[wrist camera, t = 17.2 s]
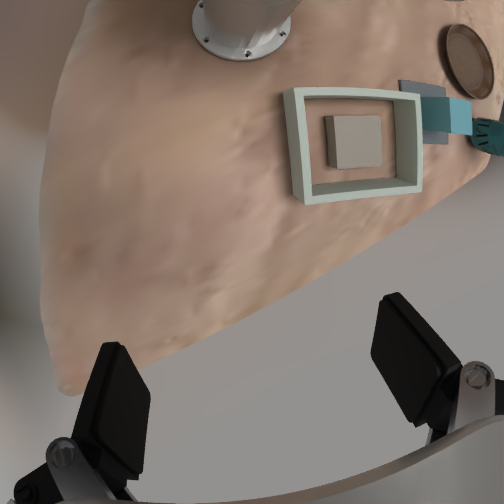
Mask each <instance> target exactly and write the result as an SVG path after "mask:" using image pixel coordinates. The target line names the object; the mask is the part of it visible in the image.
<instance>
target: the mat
mask: <svg viewBox="0 0 504 504" xmlns="http://www.w3.org/2000/svg"><path fill="white" fill-rule="evenodd" d="M399 88H400V92H409V93H416V94H420V97H446V89H445V87H440V86H435V85H430V84H425V83H419V82H413V81H407V80H399ZM422 136H423V143H429V144H448V133H447V132H441V131H434V130H427V129H422Z"/></svg>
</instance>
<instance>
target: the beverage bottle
mask: <svg viewBox="0 0 504 504" xmlns="http://www.w3.org/2000/svg"><path fill="white" fill-rule="evenodd" d="M471 140H472V143H473V145H474V146H475V147H476V148H477V149H478V150H480V151H483V152H487V153H489V154H495V155H497V156H502V157H504V122H501V121H496V120H494V119H493V120H492V119H491V120H490V119H484V118H483V117H481V118H477V119H475V120H474V121H473V122H472V135H471Z"/></svg>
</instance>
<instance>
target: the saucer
mask: <svg viewBox="0 0 504 504" xmlns="http://www.w3.org/2000/svg"><path fill="white" fill-rule="evenodd" d="M445 50H446V57H447V61H448V64H449V67H450V69H451V71H452V73H453V75H454V77H455V79H456V80H457V82H458V83H459V84H460V86H461V87H462V88H463V89H464V90H465V91H466V92H467V93H468V94H469V95H470V96H472V97H474V98H476V99H479V100H482V99H486V98H487V97H488V96H489V95H490V94H491V92H492V90H493V86H494V68H493V63H492V60H491V57H490V54H489V52H488V49H487V47H486V45H485V44H484V42H483V41H482V39H481V38H480V37H479V35H478V34H477V33H476V32H475V31H474V30H473V29H471V28H470V27H468V26H467V25H464V24H454V25H453V26H452V27H451V28H450V29H449V31H448V33H447V37H446V42H445Z"/></svg>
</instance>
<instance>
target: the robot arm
mask: <svg viewBox="0 0 504 504" xmlns="http://www.w3.org/2000/svg"><path fill="white" fill-rule="evenodd" d="M301 1H302V0H199V1H198V2H197V4H196V6H195V8H194V10H193V14H192V28H193V31H194V34H195V37H196V38H197V40H198V41H199V43H200V44H201V45H202V46H203V47H204V48H205V49H206V50H207V51H209V52H210V53H212V54H213V55H216V56H218V57H220V58H223V59H227V60H231V61H240V62H241V61H253V60H257V59H261V58H263V57H266V56H268V55H270V54H272V53H273V52H275V51H276V50H277V49H278V48H279V47H281V45H282V44H283V43H284V42H285V41H286V39H287V37H288V35H289V33H290V29H291V15H290V14H291V13H292V12H293V11H294V9H295V8H296V7H297V5H298V4H299V3H300V2H301ZM445 1H464V0H445ZM202 6H203V8H200V7H202ZM279 34H282V35H283V37H282V36H280V35H279ZM205 40H208V42H207V43H205V42H204V41H205ZM245 54H248V55H249V57H246V56H245ZM371 358H372V360H373V361H374V363H375V365H376V367H377V368H378V370H379V372H380V373H381V375H382V377H383V378H384V380H385V382H386V384H387V385H388V387H389V389H390V390H391V392H392V394H393V396H394V397H395V399H396V401H397V403H398V404H399V406H400V408H401V409H402V411H403V413H404V415H405V417H406V418H407V420H408V421H409V422H410V423H412V422H413V424H414V426H415V427H418V426H421V425H423V424H425V423H427V424H428V426H429V427H430V429H429V433H428V437H427V441H426V445H425V447H422V448H420V449H419V450H416V451H414V452H412V453H410V454H408V455H405V456H403V457H401V458H399V459H397V460H394V461H392V462H389V463H387V464H385V465H382V466H380V467H377V468H375V469H372V470H369V471H366V472H364V473H361V474H358V475H355V476H352V477H349V478H346V479H343V480H339V481H336V482H333V483H329V484H326V485H322V486H319V487H314V488H310V489H306V490H302V491H297V492H293V493H288V494H283V495H277V496H272V497H265V498H258V499H251V500H242V501H232V502H219V503H197V504H504V380H499V379H495V377H494V373H493V371H492V369H491V368H490V367H489V366H488V365H486V364H484V363H483V362H479V361H472V362H468V363H467V364H465V365H464V366H462V364H461V361H460V360H459V359H458V358H457V357H456V355H455V354H454V353H453V352H452V351H451V349H450V348H449V347H448V346H447V345H446V343H445V342H444V341H443V340H442V339H441V338H440V337H439V335H438V334H437V333H436V332H435V331H434V330H433V329H432V327H431V326H430V325H429V324H428V323H427V322H426V321H425V320H424V318H423V317H422V316H420V314H419V313H418V312H417V311H416V310H415V309H414V308H413V306H412V305H411V304H410V303H409V302H408V301H407V300H406V299H405V298H404V297H403V296H402V295H401V294H400V293H399V292H396V293H392V294H388V295H385V296H384V297H383V300H381V301H380V302H379V308H378V315H377V320H376V326H375V332H374V337H373V342H372V347H371ZM150 400H151V398H150V392H149V390H148V388H147V386H146V385H145V383H144V381H143V379H142V378H141V376H140V374H139V372H138V370H137V369H136V367H135V365H134V363H133V361H132V359H131V357H130V355H129V354H128V352H127V350H126V348H125V346H124V345H121V344H120V343H119V342H106V343H103V344H102V346H101V348H100V351H99V354H98V356H97V359H96V362H95V365H94V367H93V370H92V373H91V376H90V379H89V381H88V383H87V386H86V389H85V392H84V396H83V399H82V402H81V405H80V408H79V412H78V415H77V419H76V422H75V425H74V429H73V433H72V436H71V438H68V437H60V438H57V439H55V440H54V441H53V442H51V443H50V445H49V446H48V448H47V451H46V463H44V464H43V465H41V466H40V467H38V468H37V469H35V470H34V471H32V472H31V473H29V474H28V475H26V476H25V477H23V478H21V479H20V480H19V481H18V482H17V483H16V485H15V488H14V498H15V500H12V499H10V500H9V502H8V503H7V504H174V503H148V502H138V501H137V500H136V498H135V497H134V496H133V495H132V493H131V492H130V491H129V489H128V488H127V487H126V485H127V479H128V480H138V479H139V474H141V473H142V472H143V464H144V453H145V442H146V433H147V424H148V415H149V408H150Z"/></svg>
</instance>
